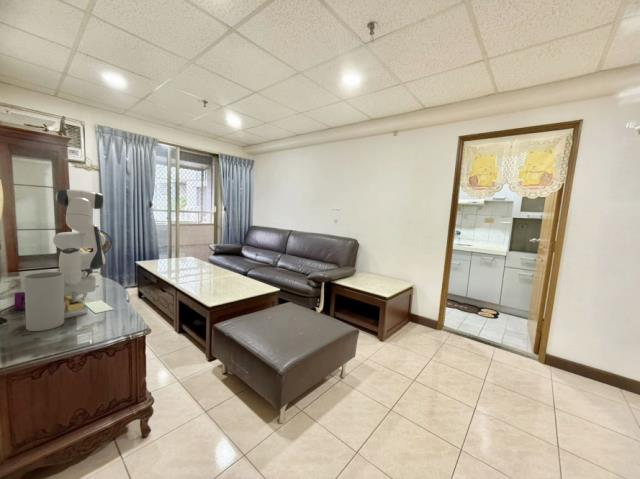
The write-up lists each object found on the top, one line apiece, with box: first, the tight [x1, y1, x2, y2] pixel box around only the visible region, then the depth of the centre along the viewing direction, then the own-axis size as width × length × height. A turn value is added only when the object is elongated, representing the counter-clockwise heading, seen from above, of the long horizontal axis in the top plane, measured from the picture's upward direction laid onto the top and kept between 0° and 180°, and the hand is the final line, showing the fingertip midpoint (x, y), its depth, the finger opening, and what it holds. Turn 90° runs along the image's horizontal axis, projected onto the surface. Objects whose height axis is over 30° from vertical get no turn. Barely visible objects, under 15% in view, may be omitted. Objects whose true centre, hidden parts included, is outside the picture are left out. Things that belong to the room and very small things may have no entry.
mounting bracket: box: [14, 291, 25, 311], centre depth 143 cm, size 10×8×18 cm
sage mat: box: [83, 299, 114, 315], centre depth 148 cm, size 20×8×1 cm, turn 56°
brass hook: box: [64, 295, 84, 311], centre depth 139 cm, size 16×6×6 cm, turn 56°
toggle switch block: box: [64, 292, 89, 319], centre depth 139 cm, size 18×9×12 cm, turn 56°
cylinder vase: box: [23, 271, 65, 332], centre depth 121 cm, size 12×12×25 cm
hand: (71, 302), depth 140 cm, fingers open, 8 cm apart
